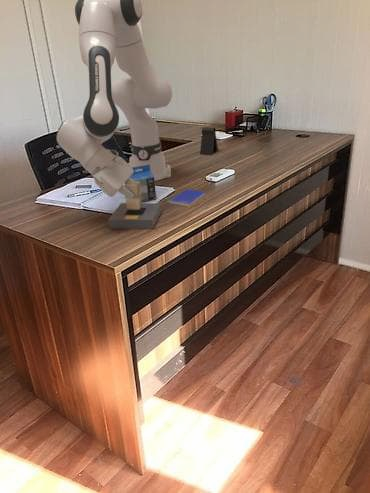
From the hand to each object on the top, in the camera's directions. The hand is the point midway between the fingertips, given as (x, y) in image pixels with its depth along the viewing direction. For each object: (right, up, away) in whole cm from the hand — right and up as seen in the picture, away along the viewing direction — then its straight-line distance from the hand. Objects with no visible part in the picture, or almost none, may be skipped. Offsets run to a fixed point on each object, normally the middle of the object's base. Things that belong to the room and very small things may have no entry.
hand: (135, 193), depth 136 cm
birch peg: (0, -4, +2) cm, 5 cm away
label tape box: (+1, 0, +21) cm, 21 cm away
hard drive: (+17, 0, +20) cm, 26 cm away
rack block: (0, -8, +4) cm, 9 cm away
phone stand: (+28, +29, +75) cm, 85 cm away
